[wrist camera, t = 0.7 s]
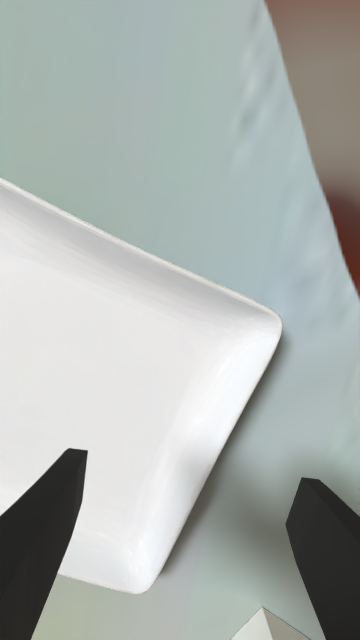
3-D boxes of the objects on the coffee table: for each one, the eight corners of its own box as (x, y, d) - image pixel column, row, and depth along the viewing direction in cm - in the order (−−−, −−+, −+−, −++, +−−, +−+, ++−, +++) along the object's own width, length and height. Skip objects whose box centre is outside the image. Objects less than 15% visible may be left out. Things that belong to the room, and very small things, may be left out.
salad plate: (148, 556, 22) (148, 607, 19) (-143, 467, 19) (-207, 508, 16) (271, 311, 20) (295, 318, 17) (-33, 165, 17) (-79, 137, 13)
